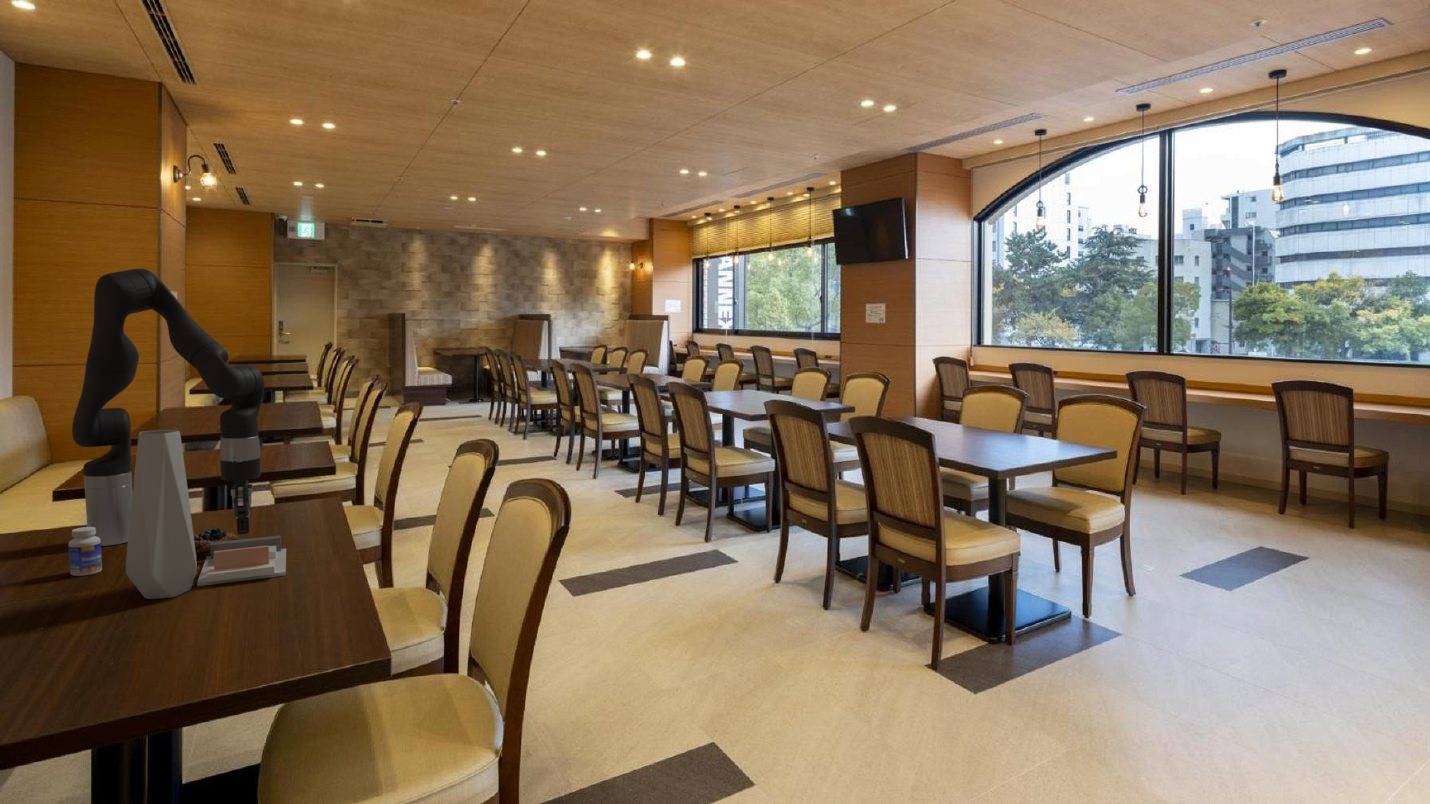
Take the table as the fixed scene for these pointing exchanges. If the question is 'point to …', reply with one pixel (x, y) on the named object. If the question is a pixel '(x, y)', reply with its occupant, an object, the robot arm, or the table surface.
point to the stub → (241, 563)
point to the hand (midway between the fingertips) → (243, 533)
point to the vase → (160, 519)
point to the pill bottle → (85, 552)
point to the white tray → (272, 541)
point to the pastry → (210, 541)
